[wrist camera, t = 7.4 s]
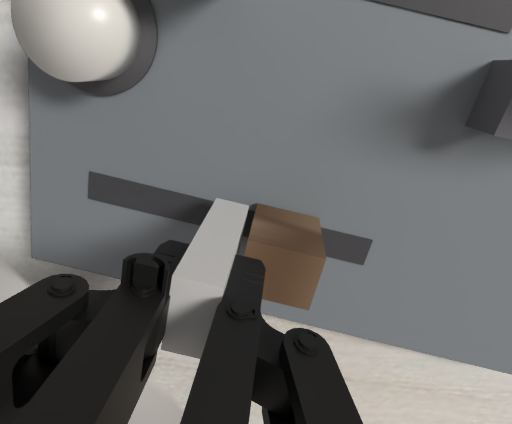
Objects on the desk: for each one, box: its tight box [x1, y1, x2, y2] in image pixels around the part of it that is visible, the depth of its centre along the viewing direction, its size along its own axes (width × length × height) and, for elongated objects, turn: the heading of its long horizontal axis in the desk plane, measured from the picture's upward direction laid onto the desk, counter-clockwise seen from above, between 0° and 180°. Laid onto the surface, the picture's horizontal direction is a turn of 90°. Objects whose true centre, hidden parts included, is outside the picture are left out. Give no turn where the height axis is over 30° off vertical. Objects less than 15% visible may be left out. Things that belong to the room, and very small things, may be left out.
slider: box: [244, 203, 326, 311], centre depth 16 cm, size 3×2×4 cm
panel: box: [28, 0, 512, 374], centre depth 16 cm, size 28×18×5 cm, turn 77°
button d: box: [11, 0, 141, 82], centre depth 14 cm, size 4×4×2 cm
